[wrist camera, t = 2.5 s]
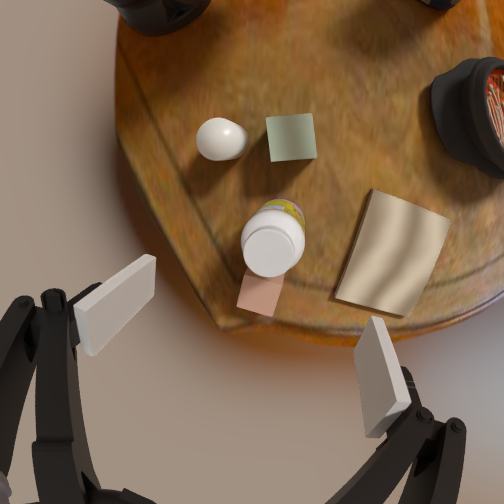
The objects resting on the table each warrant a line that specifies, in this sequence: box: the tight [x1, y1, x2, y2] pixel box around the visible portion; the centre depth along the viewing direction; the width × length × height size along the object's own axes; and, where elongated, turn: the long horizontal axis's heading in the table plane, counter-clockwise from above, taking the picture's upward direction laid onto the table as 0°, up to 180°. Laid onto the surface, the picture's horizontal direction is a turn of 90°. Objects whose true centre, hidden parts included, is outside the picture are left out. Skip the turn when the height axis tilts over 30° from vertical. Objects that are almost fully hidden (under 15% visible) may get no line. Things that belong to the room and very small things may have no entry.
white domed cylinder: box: [196, 118, 249, 161], centre depth 32 cm, size 5×5×6 cm
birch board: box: [335, 189, 451, 317], centre depth 35 cm, size 13×16×1 cm
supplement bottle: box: [241, 199, 305, 277], centre depth 31 cm, size 7×7×13 cm
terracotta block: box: [236, 267, 285, 317], centre depth 38 cm, size 5×5×5 cm
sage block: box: [266, 113, 317, 162], centre depth 30 cm, size 5×5×6 cm
